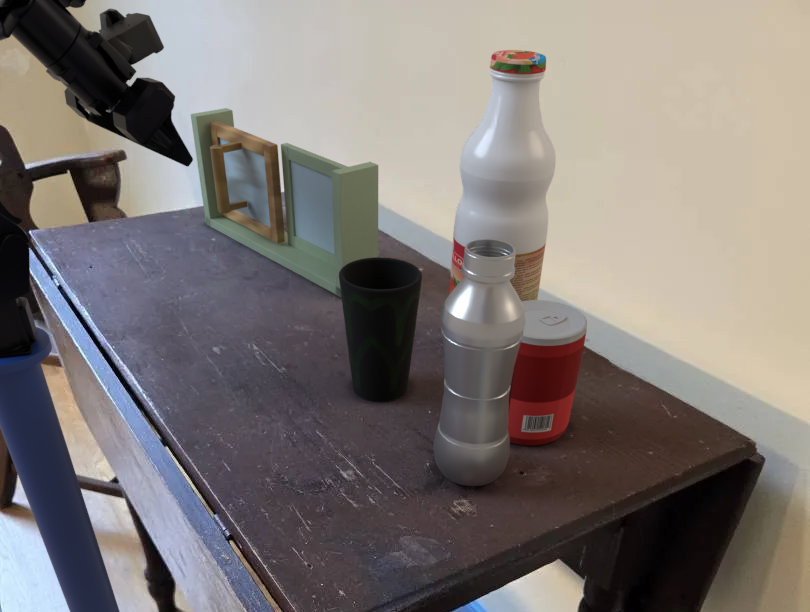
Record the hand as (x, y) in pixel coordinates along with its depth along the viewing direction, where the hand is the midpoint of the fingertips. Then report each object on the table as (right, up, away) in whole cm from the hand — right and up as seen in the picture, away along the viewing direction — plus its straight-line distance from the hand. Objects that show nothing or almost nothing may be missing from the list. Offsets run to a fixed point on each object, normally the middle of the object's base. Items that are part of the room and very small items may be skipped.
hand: (172, 155), depth 93 cm
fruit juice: (+37, -24, -6) cm, 45 cm away
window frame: (+12, -7, +12) cm, 19 cm away
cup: (+25, -31, -13) cm, 42 cm away
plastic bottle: (+33, -40, -24) cm, 57 cm away
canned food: (+39, -35, -18) cm, 56 cm away
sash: (+5, -4, +14) cm, 15 cm away
